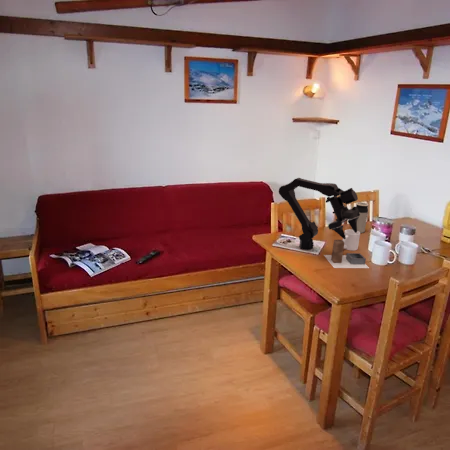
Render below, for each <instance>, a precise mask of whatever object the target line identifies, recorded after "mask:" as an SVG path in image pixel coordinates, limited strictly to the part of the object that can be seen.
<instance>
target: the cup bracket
mask: <svg viewBox="0 0 450 450" xmlns="http://www.w3.org/2000/svg"><path fill="white" fill-rule="evenodd" d="M345 255H346V259H347V260H348V261H349V262H350V264H366V260H367V259H366V258H365V257H364V255H363V254H361V253H359V252H357V253H355V252H354V253H353V252H352V253H351V252H347V253H346V254H345Z"/></svg>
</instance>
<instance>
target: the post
mask: <svg viewBox="0 0 450 450" xmlns="http://www.w3.org/2000/svg"><path fill="white" fill-rule="evenodd" d="M342 240H343V239H333V245H332V252H331V255H332V258H331V260H332V261H333V262H334V263H342V256H343V254H344V250H345V249H344V242H343V241H342Z"/></svg>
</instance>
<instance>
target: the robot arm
mask: <svg viewBox="0 0 450 450" xmlns="http://www.w3.org/2000/svg"><path fill="white" fill-rule="evenodd" d="M298 187H299V188H303V189H304V188H305V189H308V190H312V191H315V192H319V193H320V194H321V195H324V196H325V197H326V199H325V203H329V204H330V205H331V207H332V210H333V211H332V214H333V215H334V214H335V217H336V218H335V221H332V222H330V223H328V225H327V227H328V229H329V230H331V231H334V232H335V233H336V234H338V235H339V236H340V237H341V238H342V240H343V239H346V237H345V234H344V232H345V230H344V225H343V223H344V222H347V223H348V224H349V225H350V227H351V230H352V229H353V230H354V232H355V233H356V232H357V220H358V218H359V217H358V216H360V214H359V211H358V208H357V207H356V206H352V208H350V209H349V208H348V206H346V205H349V204H351V203H354V202H357V201H358V200H359V199H358V194H357V192H356V191H355V190H354V189H353V187H351V188H348V189H347V190H343V189H342V188H340V187H338V185H337V184H336V183H331V182H328V183H327V182H324V183H323V182H317V181H314V180H313V181H312V180H308V179H304V178H301V177H296V178H294V179H293V180H292V181H291V182H290V181H289V183H287V184H284V185H281V186H280V187H279V189H278V194H279V195H280V197H281V198H282V199H284V201H286V202H287V203H288V204H289V206H290V208H291V210H292V211H293V213H294V215H295V217H296V218H297V220H298V221H299V223H300V225H301V231H302V234H300V235H299V236H298V238H299V246H298V247H299V248H300V249H301V250H305V251H308V250H313V249H314V240H313V238H315V236H317V235H319V229H318V228H319V227H318V225H317V224H316V222H315V221H311V220H310V219H309V218H308V216H307V215H306V213H305V211H304V210H303V208H302V206H301V205H300V203H299V201H298V200H297V198H296V192H295V190H296V189H297V188H298Z"/></svg>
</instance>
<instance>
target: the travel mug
mask: <svg viewBox="0 0 450 450" xmlns="http://www.w3.org/2000/svg"><path fill="white" fill-rule="evenodd" d="M355 204H356V205H355V207H357V208H358V211H359V214H360V216H358V217H359V218H358V220H357V231H359V232H360V234H361V233H363V234H364V233H365V232H366V225H367V219H368V213H369V208H368V206H369V203H366V202H362V201H359V202H357V201H356V203H355ZM351 230H353V229H352V228H351Z"/></svg>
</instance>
